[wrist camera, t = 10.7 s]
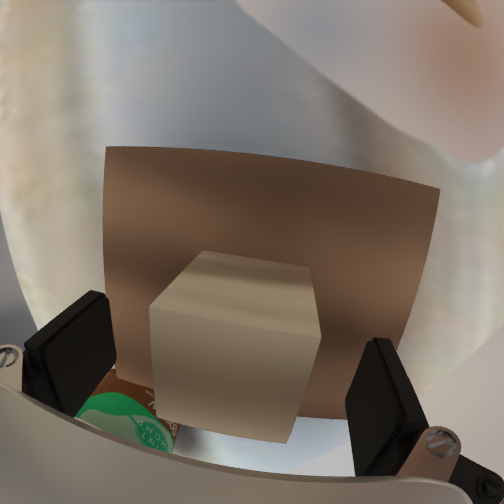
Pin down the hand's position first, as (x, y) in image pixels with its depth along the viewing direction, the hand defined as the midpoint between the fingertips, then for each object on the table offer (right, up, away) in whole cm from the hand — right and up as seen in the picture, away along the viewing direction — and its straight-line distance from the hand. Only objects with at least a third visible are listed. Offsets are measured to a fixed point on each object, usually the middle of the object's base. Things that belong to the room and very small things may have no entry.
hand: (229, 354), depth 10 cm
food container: (-8, -10, +15) cm, 19 cm away
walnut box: (+1, +2, +10) cm, 10 cm away
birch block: (+1, +1, +5) cm, 5 cm away
